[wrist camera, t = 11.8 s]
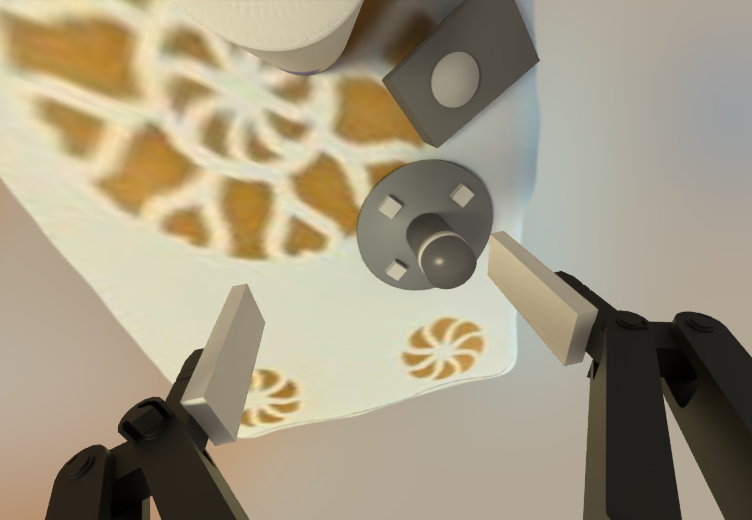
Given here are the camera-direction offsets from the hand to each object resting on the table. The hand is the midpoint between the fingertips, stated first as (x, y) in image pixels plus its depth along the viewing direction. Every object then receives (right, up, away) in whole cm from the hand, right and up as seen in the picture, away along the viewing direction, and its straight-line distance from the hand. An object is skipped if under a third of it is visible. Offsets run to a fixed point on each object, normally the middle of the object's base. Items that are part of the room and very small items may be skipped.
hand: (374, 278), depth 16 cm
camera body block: (+8, +21, +16) cm, 27 cm away
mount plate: (+6, +5, +24) cm, 25 cm away
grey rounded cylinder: (+7, +5, +23) cm, 24 cm away
